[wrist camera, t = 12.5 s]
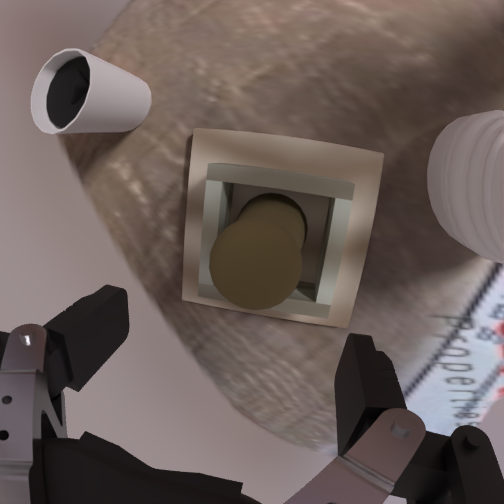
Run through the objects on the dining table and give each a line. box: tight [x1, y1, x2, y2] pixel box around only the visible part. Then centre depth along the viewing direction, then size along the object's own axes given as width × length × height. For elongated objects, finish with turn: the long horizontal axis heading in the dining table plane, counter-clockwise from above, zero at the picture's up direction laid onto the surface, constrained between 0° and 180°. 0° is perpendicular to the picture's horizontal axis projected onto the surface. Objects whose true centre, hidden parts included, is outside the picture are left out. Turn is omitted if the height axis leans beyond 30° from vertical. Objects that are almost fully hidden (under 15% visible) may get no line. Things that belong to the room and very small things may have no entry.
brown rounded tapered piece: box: [209, 193, 308, 310], centre depth 21 cm, size 6×6×11 cm
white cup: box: [31, 49, 151, 134], centre depth 22 cm, size 7×7×10 cm
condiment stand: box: [182, 128, 384, 328], centre depth 25 cm, size 16×16×5 cm
